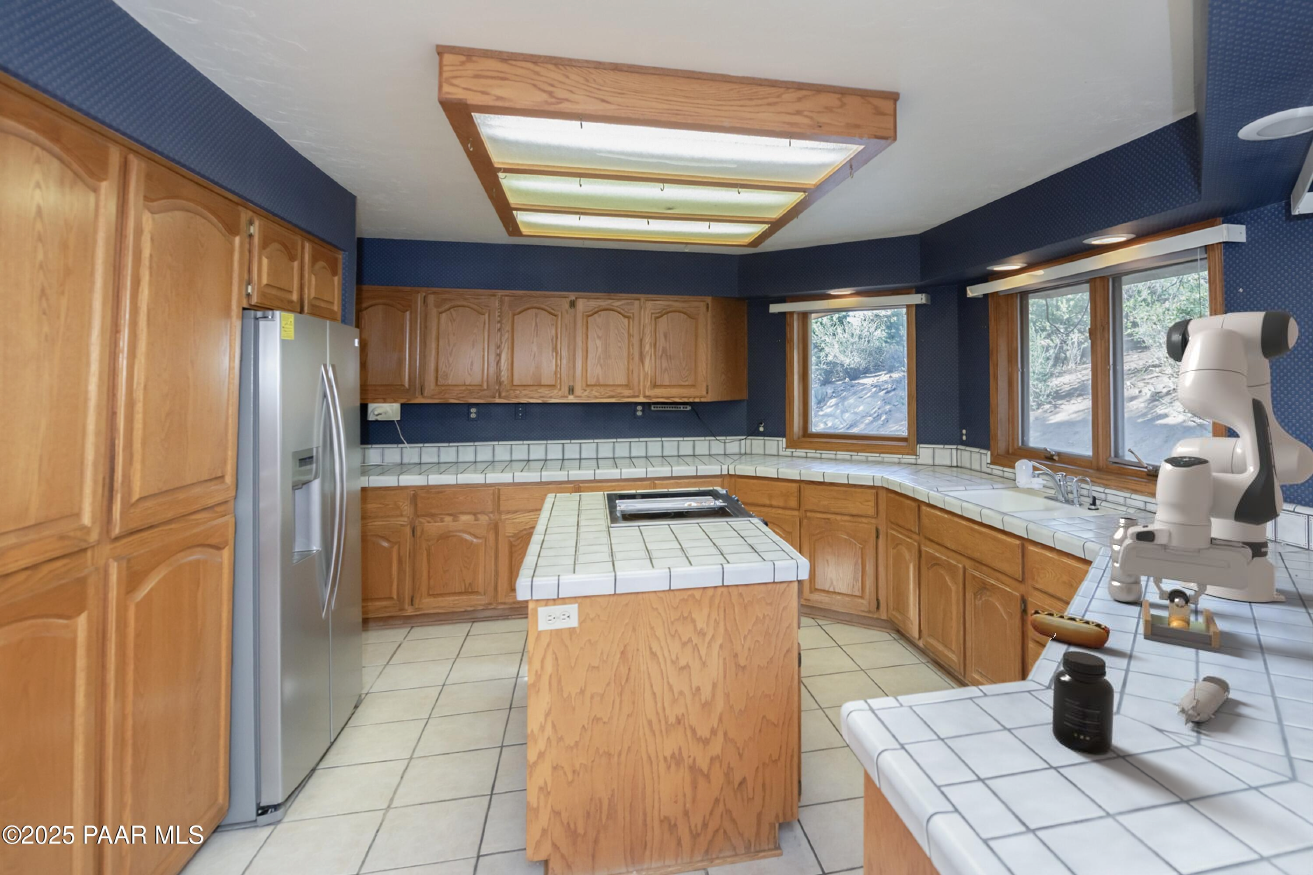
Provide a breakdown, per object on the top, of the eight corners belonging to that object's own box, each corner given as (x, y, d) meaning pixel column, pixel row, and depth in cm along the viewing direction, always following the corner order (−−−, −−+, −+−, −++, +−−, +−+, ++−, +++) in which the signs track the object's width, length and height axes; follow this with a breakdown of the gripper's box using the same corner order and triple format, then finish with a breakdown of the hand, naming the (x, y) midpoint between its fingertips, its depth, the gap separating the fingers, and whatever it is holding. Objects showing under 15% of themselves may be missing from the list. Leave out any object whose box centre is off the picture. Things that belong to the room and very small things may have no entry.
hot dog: (1106, 655, 112) (1107, 629, 112) (1025, 635, 122) (1026, 611, 121) (1111, 648, 115) (1112, 623, 115) (1033, 629, 125) (1034, 605, 125)
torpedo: (1197, 689, 99) (1199, 650, 98) (1236, 700, 95) (1239, 660, 95) (1164, 723, 88) (1166, 679, 88) (1207, 737, 84) (1209, 692, 84)
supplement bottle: (1052, 723, 88) (1055, 643, 87) (1110, 738, 84) (1114, 654, 83) (1050, 745, 82) (1054, 659, 81) (1113, 762, 78) (1117, 672, 77)
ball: (1170, 616, 119) (1170, 631, 118) (1190, 620, 117) (1190, 634, 116) (1169, 621, 121) (1169, 636, 120) (1188, 625, 119) (1189, 639, 118)
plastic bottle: (1148, 606, 139) (1153, 521, 138) (1115, 604, 140) (1119, 520, 139) (1132, 597, 145) (1136, 516, 144) (1101, 595, 147) (1105, 515, 146)
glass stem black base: (1166, 619, 126) (1168, 587, 125) (1186, 623, 124) (1188, 590, 123) (1168, 628, 121) (1170, 594, 121) (1189, 632, 119) (1191, 597, 119)
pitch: (1141, 616, 132) (1142, 598, 132) (1208, 628, 126) (1210, 609, 125) (1143, 638, 120) (1144, 619, 119) (1218, 652, 113) (1219, 632, 113)
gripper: (1249, 540, 119) (1245, 608, 120) (1119, 526, 131) (1116, 588, 132) (1255, 545, 114) (1251, 617, 115) (1119, 531, 126) (1116, 595, 127)
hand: (1178, 601), depth 123 cm, fingers closed on glass stem black base, 3 cm apart
